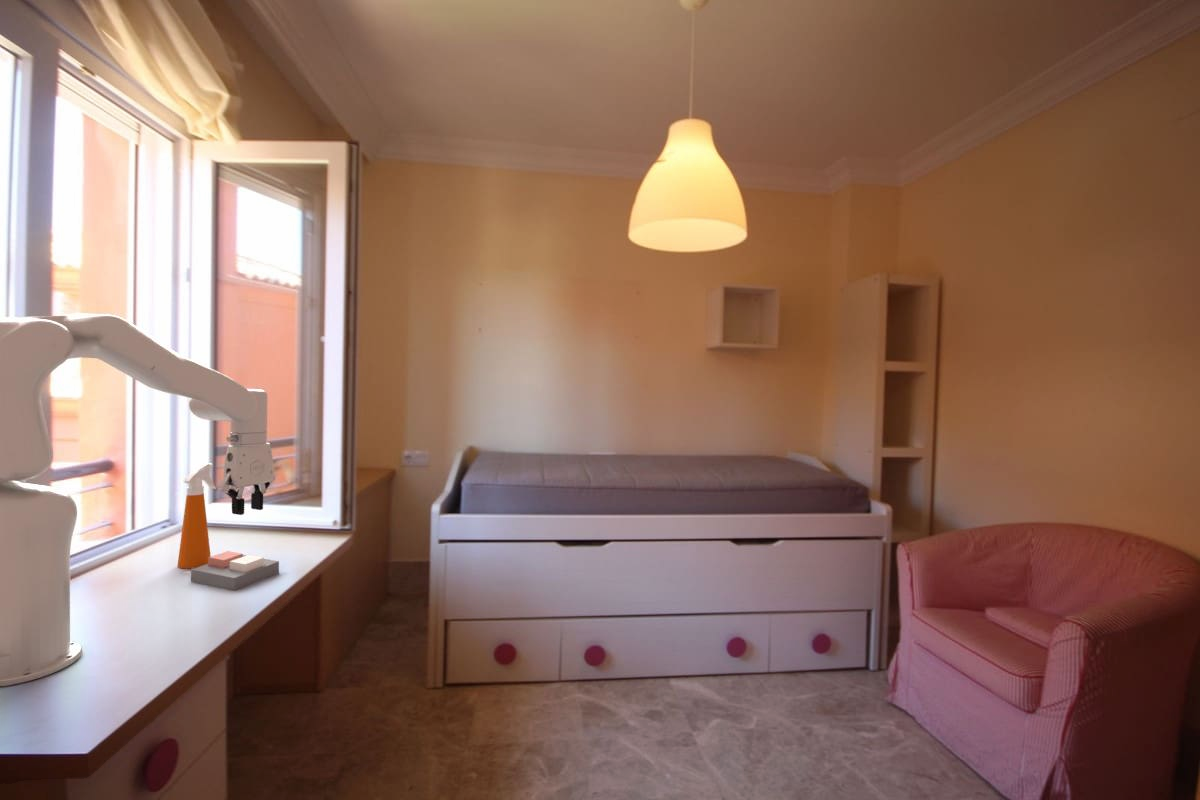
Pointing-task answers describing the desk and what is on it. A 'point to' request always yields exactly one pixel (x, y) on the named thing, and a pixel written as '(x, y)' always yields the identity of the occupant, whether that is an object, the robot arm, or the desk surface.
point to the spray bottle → (195, 521)
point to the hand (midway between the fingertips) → (247, 510)
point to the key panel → (232, 575)
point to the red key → (223, 559)
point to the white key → (246, 563)
